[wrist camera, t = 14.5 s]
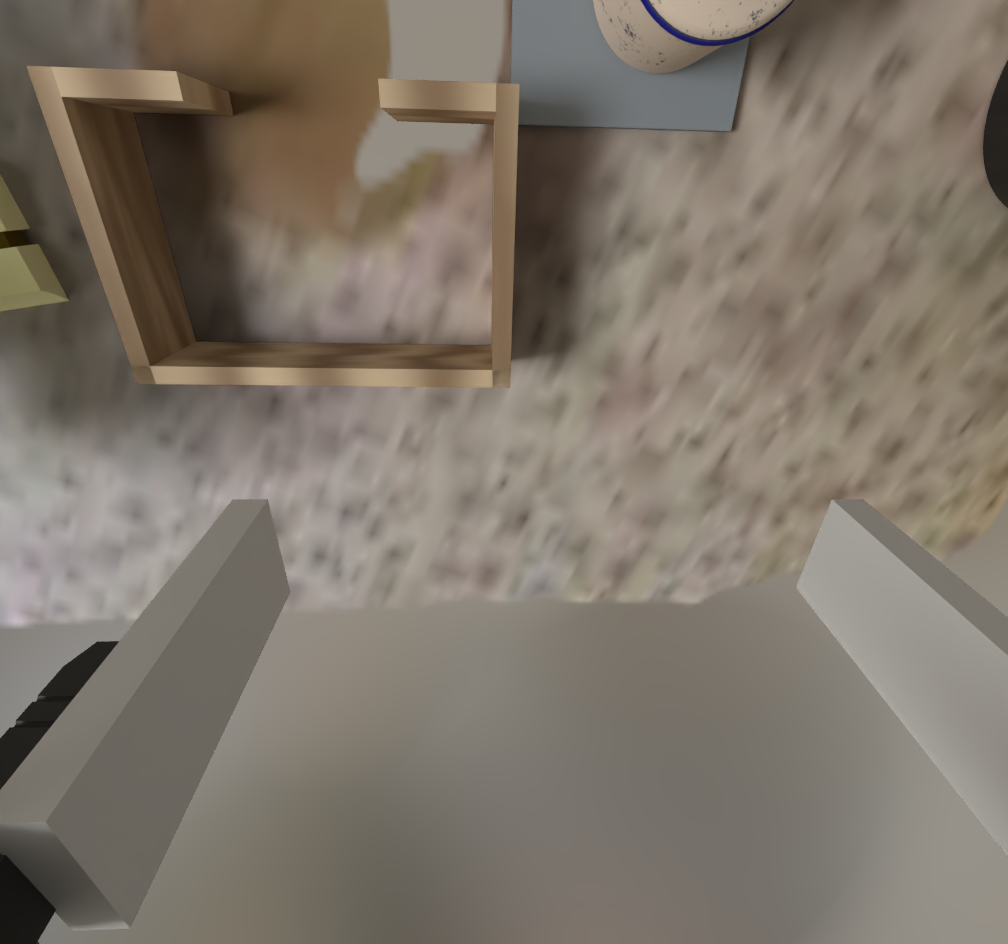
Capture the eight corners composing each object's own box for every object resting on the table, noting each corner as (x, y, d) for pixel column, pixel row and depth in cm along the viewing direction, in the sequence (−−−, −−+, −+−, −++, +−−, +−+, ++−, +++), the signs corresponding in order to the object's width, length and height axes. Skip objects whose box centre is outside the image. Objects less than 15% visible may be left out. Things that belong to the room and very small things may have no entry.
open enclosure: (513, 101, 31) (519, 83, 26) (506, 361, 39) (510, 387, 34) (105, 87, 30) (26, 65, 25) (184, 357, 38) (136, 383, 33)
